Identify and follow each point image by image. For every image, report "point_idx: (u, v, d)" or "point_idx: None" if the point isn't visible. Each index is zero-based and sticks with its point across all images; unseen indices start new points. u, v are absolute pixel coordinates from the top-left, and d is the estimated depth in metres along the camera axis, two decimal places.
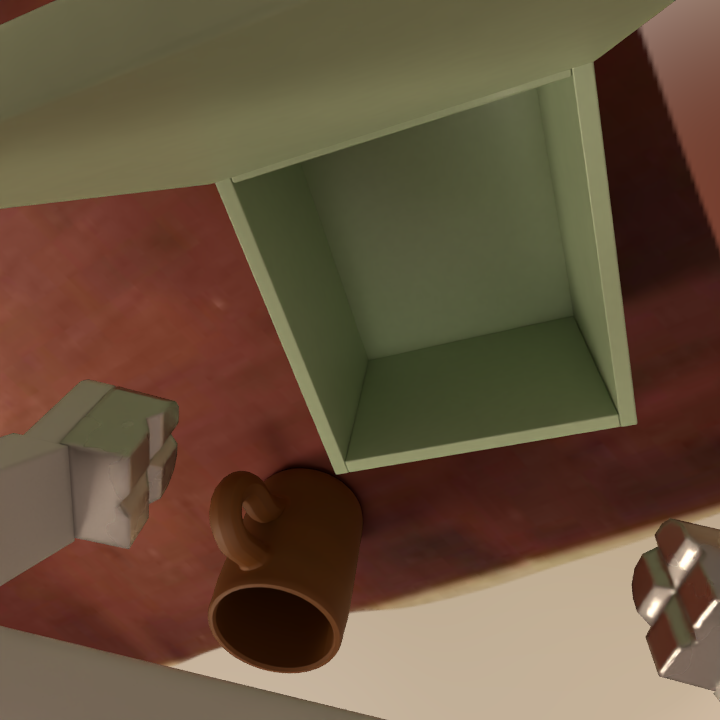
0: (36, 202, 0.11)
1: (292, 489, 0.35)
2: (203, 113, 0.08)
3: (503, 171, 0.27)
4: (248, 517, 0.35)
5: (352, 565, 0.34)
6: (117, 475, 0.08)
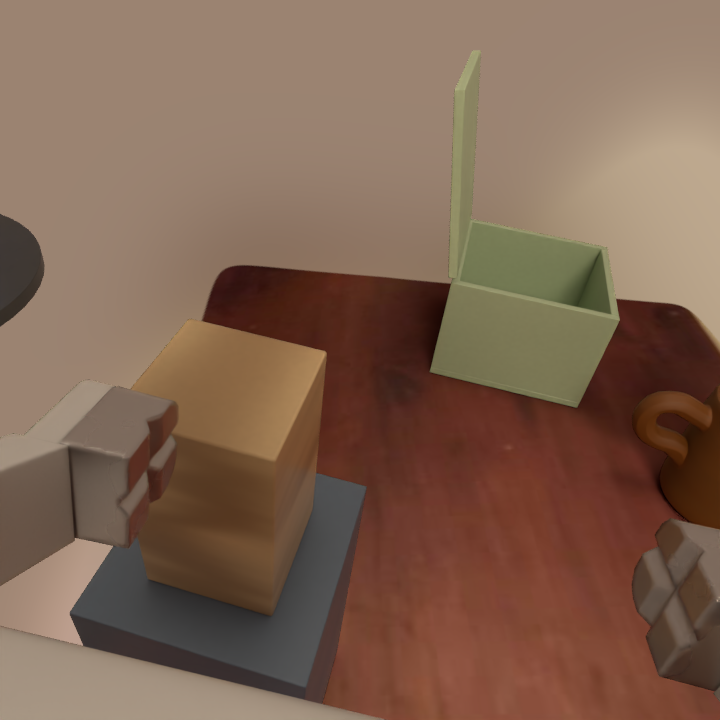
0: (461, 170, 0.41)
1: (670, 457, 0.45)
2: (470, 111, 0.44)
3: None
4: (690, 472, 0.42)
5: None
6: (117, 475, 0.08)
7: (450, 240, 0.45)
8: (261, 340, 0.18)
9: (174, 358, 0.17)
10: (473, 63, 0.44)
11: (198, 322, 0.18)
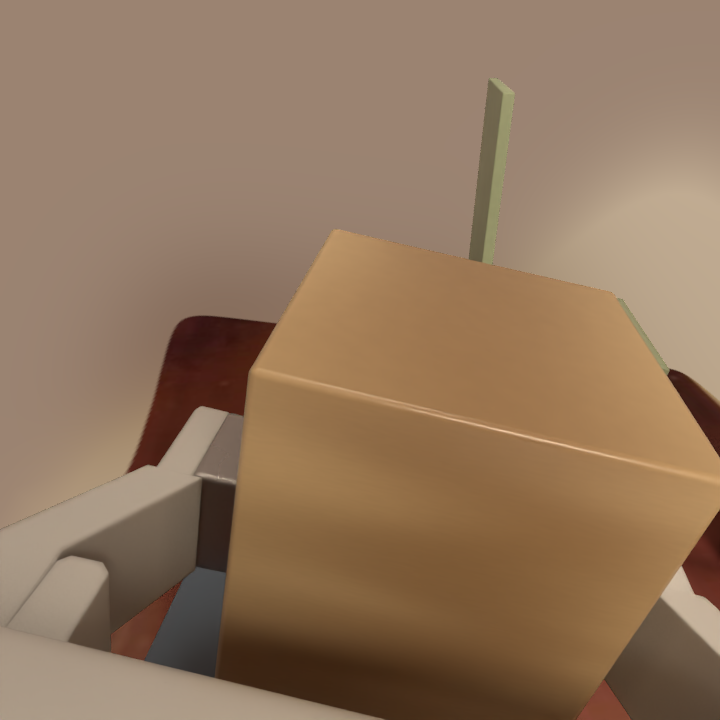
0: (501, 190, 0.36)
1: None
2: None
3: None
4: None
5: None
6: None
7: None
8: (489, 267, 0.09)
9: (346, 279, 0.07)
10: (501, 82, 0.39)
11: (355, 234, 0.09)
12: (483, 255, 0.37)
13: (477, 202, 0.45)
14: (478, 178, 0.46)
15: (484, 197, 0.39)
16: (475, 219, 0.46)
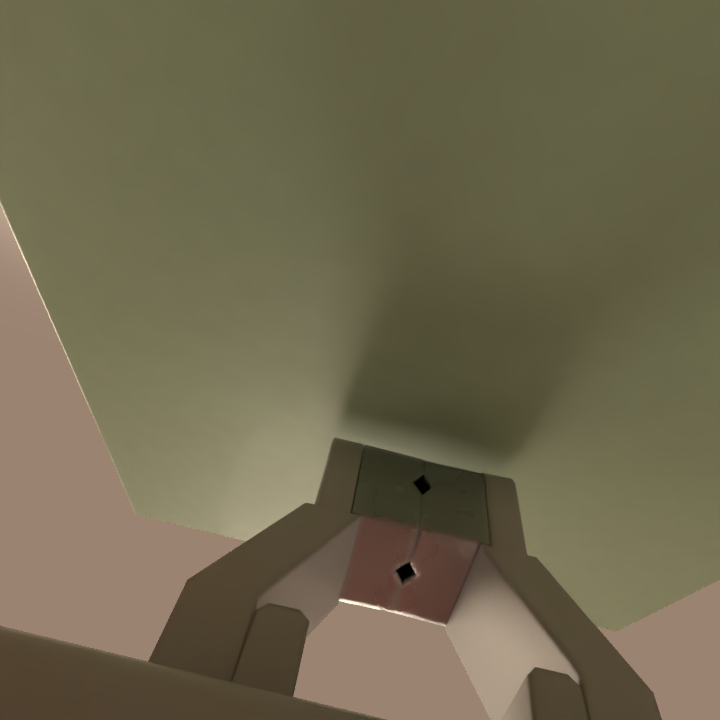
0: None
1: None
2: None
3: None
4: None
5: None
6: (403, 543, 0.08)
7: None
8: None
9: None
10: None
11: None
12: (2, 203, 0.07)
13: (707, 430, 0.08)
14: None
15: (283, 402, 0.09)
16: None
